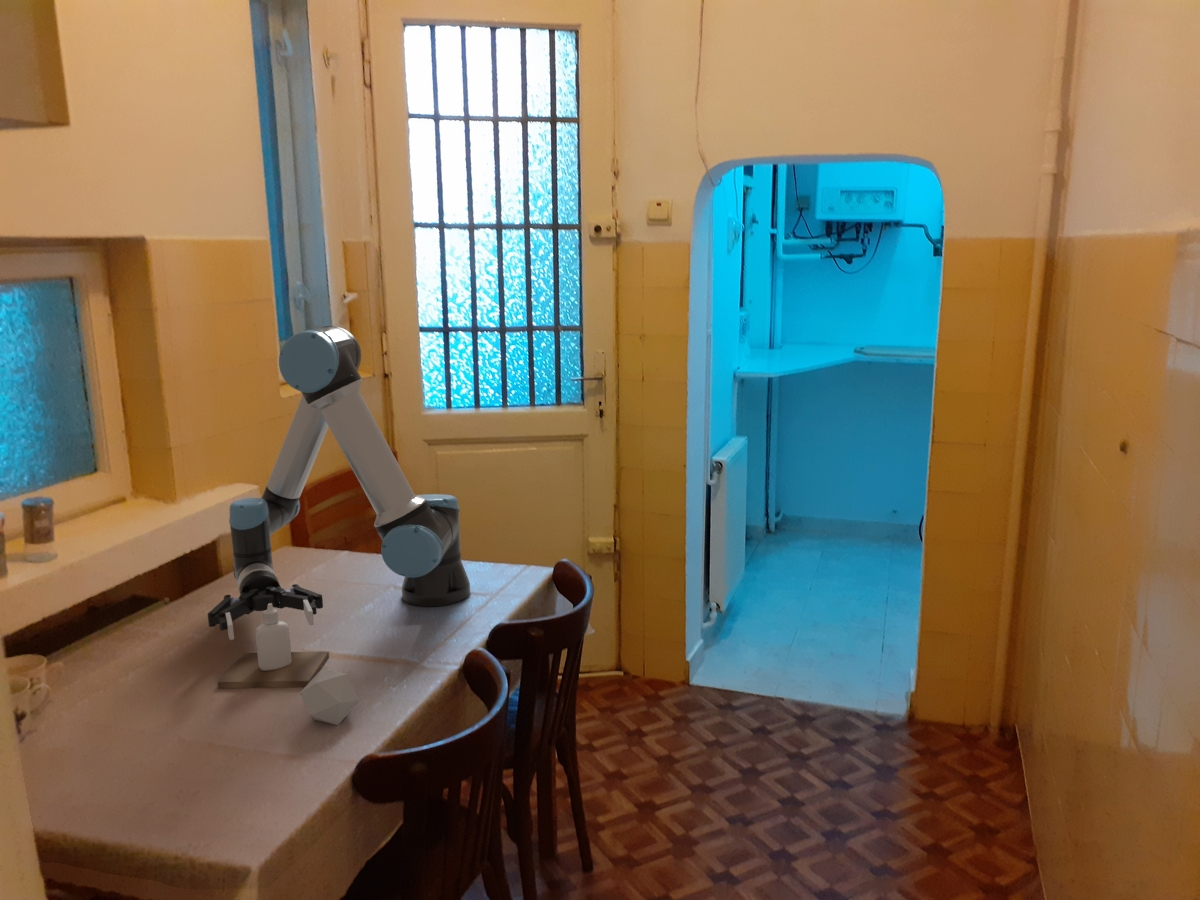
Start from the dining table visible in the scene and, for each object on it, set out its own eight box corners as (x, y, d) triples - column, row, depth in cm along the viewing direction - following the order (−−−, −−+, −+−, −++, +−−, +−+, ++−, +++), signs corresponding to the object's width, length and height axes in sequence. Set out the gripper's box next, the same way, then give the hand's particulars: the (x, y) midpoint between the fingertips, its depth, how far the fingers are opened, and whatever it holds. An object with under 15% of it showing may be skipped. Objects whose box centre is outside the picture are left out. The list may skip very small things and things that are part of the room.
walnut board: (329, 657, 165) (328, 651, 165) (309, 687, 154) (308, 680, 153) (244, 658, 165) (243, 652, 165) (218, 688, 153) (217, 682, 153)
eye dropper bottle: (263, 661, 161) (257, 600, 159) (294, 660, 162) (289, 599, 159) (256, 671, 157) (250, 609, 154) (287, 670, 157) (282, 608, 155)
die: (370, 715, 145) (354, 660, 148) (352, 715, 137) (335, 657, 140) (324, 735, 145) (309, 679, 148) (303, 735, 136) (287, 676, 139)
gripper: (324, 594, 181) (344, 631, 163) (193, 616, 171) (198, 658, 152) (321, 560, 180) (341, 593, 161) (189, 580, 169) (193, 618, 150)
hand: (271, 625), depth 157 cm, fingers open, 13 cm apart
